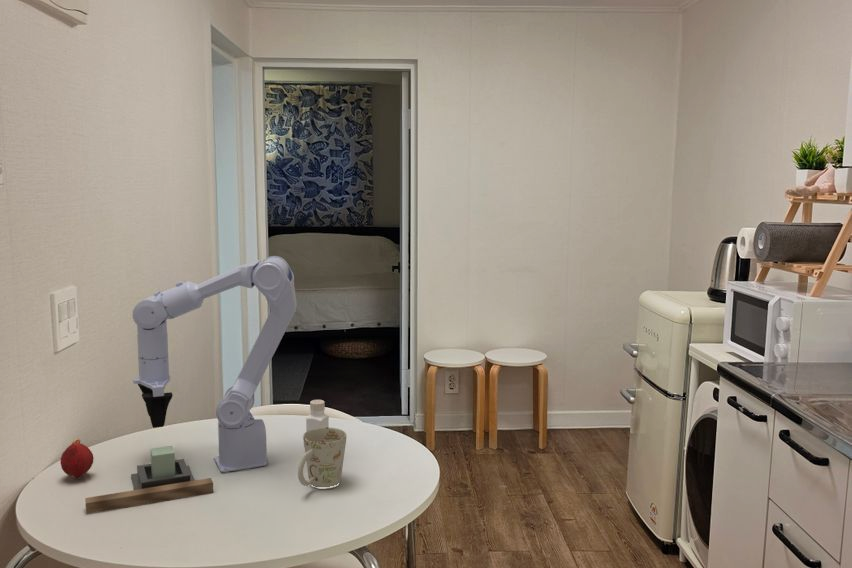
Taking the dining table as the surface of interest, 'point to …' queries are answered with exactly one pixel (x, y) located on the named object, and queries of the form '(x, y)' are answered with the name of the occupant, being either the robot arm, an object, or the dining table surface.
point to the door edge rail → (148, 495)
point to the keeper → (145, 477)
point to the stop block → (162, 462)
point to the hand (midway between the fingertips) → (156, 420)
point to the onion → (76, 459)
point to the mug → (323, 457)
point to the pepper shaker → (317, 416)
